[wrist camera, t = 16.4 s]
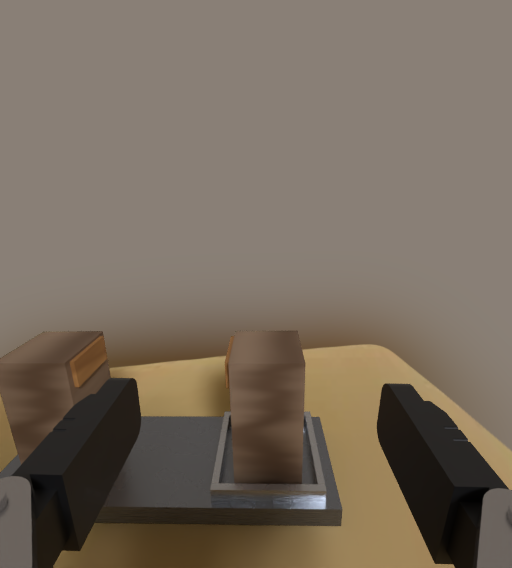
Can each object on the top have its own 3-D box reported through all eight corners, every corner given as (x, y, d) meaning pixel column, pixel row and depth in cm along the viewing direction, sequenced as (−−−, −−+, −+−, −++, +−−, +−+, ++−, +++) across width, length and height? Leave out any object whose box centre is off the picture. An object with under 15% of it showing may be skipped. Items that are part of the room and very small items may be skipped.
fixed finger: (25, 479, 23) (-9, 363, 21) (66, 431, 28) (43, 331, 25) (93, 480, 23) (68, 363, 20) (123, 431, 28) (106, 331, 25)
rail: (-25, 520, 22) (-35, 494, 21) (57, 428, 31) (52, 407, 30) (340, 525, 21) (343, 498, 20) (318, 430, 30) (319, 408, 29)
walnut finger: (230, 483, 23) (223, 363, 20) (236, 433, 28) (231, 331, 25) (301, 484, 23) (305, 363, 20) (295, 433, 27) (297, 330, 25)
